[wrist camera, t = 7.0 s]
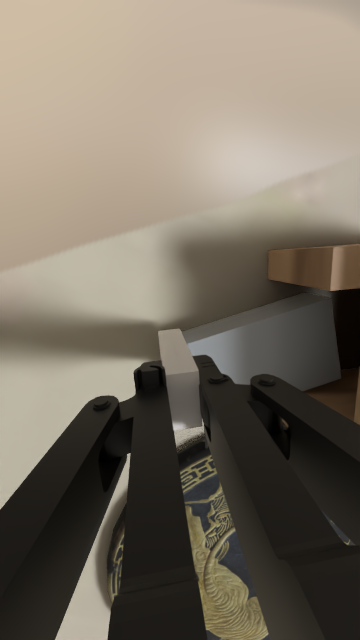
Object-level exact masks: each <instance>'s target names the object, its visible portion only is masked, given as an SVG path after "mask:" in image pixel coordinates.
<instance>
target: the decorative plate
mask: <svg viewBox="0 0 360 640" xmlns="http://www.w3.org/2000/svg"><path fill="white" fill-rule="evenodd" d="M282 425H283V426H285V427H286V428H288V427H287V426H286V425H285V424H284V422H283V421H282ZM177 456H178V463H179V469H180V476H181V482H182V489H183V495H184V502H185V508H186V515H187V521H188V528H189V535H190V541H191V548H192V554H193V561H194V567H195V573H196V578H197V579H198V584H199V589H200V595H201V601H202V607H203V613H204V620H205V626H206V632H207V639H208V640H270V637H269V633H268V630H267V627H266V624H265V621H264V618H263V615H262V611H261V608H260V605H259V602H258V599H257V596H256V593H255V590H254V586H253V583H252V580H251V577H250V574H249V571H248V568H247V565H246V561H245V558H244V555H243V552H242V549H241V546H240V543H239V540H238V536H237V533H236V530H235V527H234V524H233V521H232V518H231V515H230V511H229V508H228V505H227V502H226V499H225V496H224V493H223V490H222V486H221V483H220V480H219V477H218V474H217V471H216V468H215V464H214V461H213V458H212V455H211V452H210V449H209V446H208V448H205V437H203V438H201V439H200V440H198V441H196V442H195V443H193V444H191V445H190V446H188V447H186V448H185V449H183V450H181V451H180V452H178V453H177ZM126 505H127V503H126ZM126 505H125V507H124V509H123V511H122V513H121V515H120V517H119V519H118V521H117V523H116V525H115V527H114V530H113V534H112V539H111V543H110V547H109V552H108V557H107V577H108V593H109V596H110V599H111V602H112V604H113V600H114V597H115V596H116V595H117V594H118V592H119V588H120V579H121V567H122V555H123V542H124V530H125V518H126ZM320 510H321V509H320ZM321 511H322V510H321ZM322 513H323V514H324V515H325V517H326V518H327V520H328V521H329V523H330V524H331V526H332V527H333V529H334V530H335V532H336V533H337V535H338V536H339V537H340V538H341V540H342V541H343V542H344V543H346V544H347V545H355V544H354V543H353V542H352V541H351V540H350V539H349V538H348V537H347V536H346V535H345V534H344V533H343V532H342V531H341V530H340V529H339V528H338V527H337V526H336V525H335V524H334V523H333V522H332V521H331V520H330V518H329V517H328V516H327V515H326V514H325V513H324V512H323V511H322Z"/></svg>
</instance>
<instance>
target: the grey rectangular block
mask: <svg viewBox="0 0 360 640" xmlns="http://www.w3.org/2000/svg"><path fill="white" fill-rule="evenodd" d="M182 335H183V337H184V339H185V341H186V343H187V346H188V348H189V350H190V352H191V355H192V356H197V355H205V354H206V355H207V356H209V357H211V358H212V359H213V361H214V363H215V364H216V366H217V367H218V369H219V370H220V372H221V373H222V374H226V375H228V376H229V377H230V378H231V379H232V380H233V382H234V383H235V384H245V385H250V379H251V378H252V377H253V376H255V375H260V374H270V375H274V376H276V377H279V378H280V379H282V380H284V381H286V382H287V383H289V384H291V385H292V386H294V387H296V388H297V389H299V390H301V391H306V390H308V389H311V388H314V387H317V386H320V385H323V384H326V383H329V382H332V381H335V380H338V379H341V371H340V363H339V356H338V348H337V340H336V332H335V325H334V317H333V309H332V302H331V298H329V297H325V296H320V295H316V294H312V293H307V292H304V293H301V294H298V295H295V296H292V297H289V298H286V299H282V300H279V301H276V302H273V303H270V304H267V305H264V306H260V307H257V308H254V309H251V310H248V311H245V312H242V313H238V314H235V315H232V316H229V317H226V318H223V319H220V320H216V321H213V322H210V323H207V324H204V325H201V326H198V327H194V328H191V329H188V330H185V331H182Z"/></svg>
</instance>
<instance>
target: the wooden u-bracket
mask: <svg viewBox="0 0 360 640" xmlns="http://www.w3.org/2000/svg"><path fill="white" fill-rule="evenodd" d="M268 279H270V280H276V281H281V282H286V283H291V284H297V285H302V286H307V287H312V288H318V289H323V290H328V291H334V290H345V289H355V288H360V243H358V244H346V245H333V246H320V247H307V248H294V249H281V250H269V258H268ZM340 371H341V379H338V380H335V381H332V382H329V383H326V384H323V385H320V386H317V387H314V388H311V389H308V390H306V391H303V392H304V393H306V394H308V395H309V396H311V397H313V398H314V399H316V400H318V401H320V402H321V403H323V404H325V405H326V406H328V407H330V408H331V409H333V410H335V411H337V412H338V413H340V414H342V415H343V416H345V417H347V418H348V419H350V420H352V421H354V422H355V423H357V424H359V425H360V368H352V369H345V370H340ZM282 421H283V422H284V424H285V425H286V426H287V427H288V424H287V423H286V422H285V421H284V420H283V419H282Z"/></svg>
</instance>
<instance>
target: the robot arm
mask: <svg viewBox="0 0 360 640" xmlns="http://www.w3.org/2000/svg"><path fill="white" fill-rule="evenodd" d="M158 336H159V346H160V356H161V361H153V362H145V363H143V364H142V365H141V366H140V367H139V368H137V369H136V370H135V371H134V381H135V388H136V395H135V396H133V397H132V398H130V399H128V400H126V401H123V402H120V403H119V401H118V399H117V398H116V397H114V396H100V397H96V398H95V399H93V400H91V401H89V402H88V403H87V404H86V405H85V406H84V407H83V408H82V410H81V411H80V412H79V413H78V415H77V416H76V417H75V418H74V420H73V421H72V422H71V423H70V425H69V426H68V427H67V428H66V429H65V431H64V432H63V433H62V434H61V436H60V437H59V438H58V439H57V441H56V442H55V443H54V444H53V445H52V447H51V448H50V449H49V450H48V452H47V453H46V454H45V455H44V457H43V458H42V459H41V460H40V462H39V463H38V464H37V465H36V466H35V468H34V469H33V470H32V471H31V473H30V474H29V475H28V476H27V478H26V479H25V480H24V481H23V482H22V484H21V485H20V486H19V487H18V489H17V490H16V491H15V492H14V494H13V495H12V496H11V497H10V499H9V500H8V501H7V502H6V503H5V505H4V506H3V507H2V508H1V510H0V640H55V638H56V636H57V633H58V631H59V628H60V626H61V623H62V621H63V618H64V616H65V613H66V611H67V608H68V606H69V603H70V601H71V598H72V596H73V593H74V591H75V588H76V586H77V583H78V581H79V578H80V576H81V573H82V571H83V568H84V566H85V563H86V561H87V558H88V556H89V553H90V551H91V548H92V546H93V543H94V541H95V538H96V536H97V533H98V531H99V528H100V526H101V523H102V520H103V518H104V515H105V513H106V510H107V508H108V505H109V503H110V500H111V498H112V495H113V493H114V490H115V488H116V485H117V483H118V480H119V478H120V475H121V473H122V470H123V468H124V465H125V463H126V460H127V454H129V453H131V456H130V468H129V481H128V493H127V505H126V518H125V530H124V542H123V555H122V567H121V579H120V588H119V592H118V594H117V595H116V596H115V597H114V600H113V604H112V608H111V615H110V623H109V632H108V640H208V639H207V632H206V626H205V620H204V613H203V607H202V601H201V595H200V589H199V584H198V579H197V578H196V573H195V567H194V561H193V554H192V548H191V541H190V535H189V528H188V521H187V515H186V508H185V502H184V495H183V489H182V482H181V476H180V469H179V463H178V456H177V450H176V443H175V437H174V430H180V429H187V428H194V427H201V426H202V419H203V422H204V432H205V448H208V446H209V449H210V452H211V455H212V458H213V461H214V464H215V468H216V471H217V474H218V477H219V480H220V483H221V486H222V490H223V493H224V496H225V499H226V502H227V505H228V508H229V511H230V515H231V518H232V521H233V524H234V527H235V530H236V533H237V536H238V540H239V543H240V546H241V549H242V552H243V555H244V558H245V561H246V565H247V568H248V571H249V574H250V577H251V580H252V583H253V586H254V590H255V593H256V596H257V599H258V602H259V605H260V608H261V611H262V615H263V618H264V621H265V624H266V627H267V630H268V633H269V637H270V640H360V425H359V424H357V423H355V422H354V421H352V420H350V419H348V418H347V417H345V416H343V415H342V414H340V413H338V412H337V411H335V410H333V409H331V408H330V407H328V406H326V405H325V404H323V403H321V402H320V401H318V400H316V399H314V398H313V397H311V396H309V395H308V394H306V393H304V392H303V391H301V390H299V389H297V388H296V387H294V386H292V385H291V384H289V383H287V382H286V381H284V380H282V379H280V378H279V377H276V376H274V375H270V374H260V375H255V376H253V377H252V378H251V379H250V385H245V384H235V383H234V382H233V380H232V379H231V378H230V377H229V376H228V375H226V374H222V373H221V372H220V370H219V369H218V367H217V366H216V364H215V363H214V361H213V359H212V358H211V357H209V356H207V355H206V354H205V355H197V356H192V355H191V352H190V350H189V348H188V346H187V343H186V341H185V339H184V337H183V335H182V332H181V330H180V329H171V330H161V331H158ZM282 419H283V420H284V421H285V422H286V423H287V424H288V428H286V427H285V426H283V425H282ZM320 509H321V510H322V511H323V512H324V513H325V514H326V515H327V516H328V517H329V518H330V520H331V521H332V522H333V523H334V524H335V525H336V526H337V527H338V528H339V529H340V530H341V531H342V532H343V533H344V534H345V535H346V536H347V537H348V538H349V539H350V540H351V541H352V542H353V543H354V544H355V545H347V544H346V543H344V542H343V541H342V540H341V538H340V537H339V536H338V535H337V533H336V532H335V530H334V529H333V527H332V526H331V524H330V523H329V521H328V520H327V518H326V517H325V515H324V514H323V513H322V511H321V510H320Z"/></svg>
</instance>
